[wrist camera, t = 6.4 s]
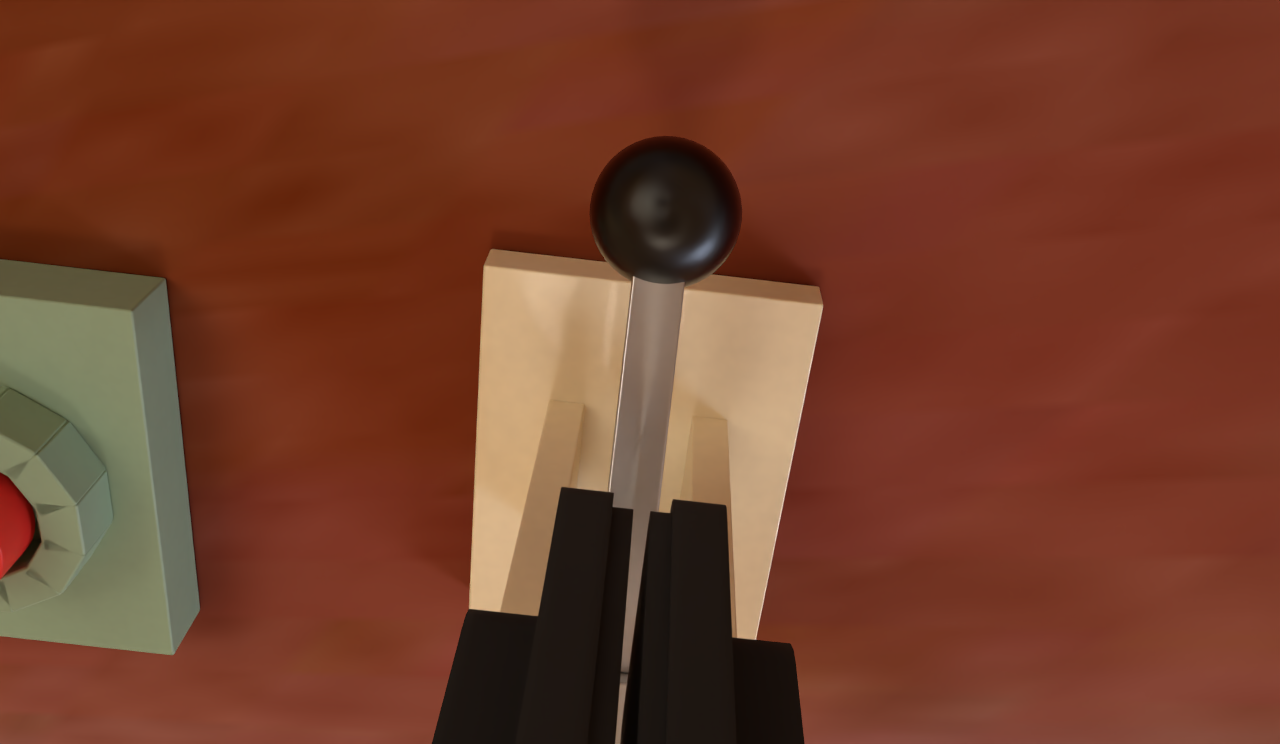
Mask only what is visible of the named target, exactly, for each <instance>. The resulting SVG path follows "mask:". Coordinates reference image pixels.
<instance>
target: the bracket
mask: <svg viewBox="0 0 1280 744" xmlns="http://www.w3.org/2000/svg"><path fill="white" fill-rule="evenodd" d="M631 282H632V281H630V280H628V279H626V278H625V277H623V276H622V275H620V274H619V273H618V272H617V271H616V270H614V269H613V268H612V267H611V266H610V264H609V263H608V262H601V261H592V260H583V259H575V258H566V257H557V256H549V255H540V254H532V253H523V252H514V251H506V250H497V249H491V250H490V252H489V255H488V257H487V259H486V262H485V264H484V267H483V291H482V314H481V338H480V361H479V385H478V408H477V432H476V455H475V479H474V502H473V526H472V549H471V573H470V596H469V609H476V610H485V611H495V612H504V613H513V614H522V615H531V616H538V613H539V608H540V602H541V596H542V591H543V585H544V580H545V574H546V568H547V563H548V557H549V551H550V546H551V540H552V535H553V529H554V523H555V518H556V512H557V507H558V501H559V495H560V490H561V487H568V488H577V489H586V490H595V491H604V492H607V491H608V482H609V474H610V465H611V456H612V447H613V439H614V430H615V421H616V413H617V404H618V395H619V386H620V378H621V369H622V360H623V351H624V343H625V334H626V325H627V317H628V308H629V299H630V290H631ZM822 310H823V302H822V297H821V293H820V289H819V287H817V286H808V285H800V284H791V283H782V282H774V281H765V280H756V279H748V278H739V277H731V276H722V275H713V274H711V275H710V276H708V277H707V278H705V279H704V280H702V281H700V282H698V283H696V284H693V285H690V286H687V287H684V295H683V304H682V313H681V321H680V330H679V339H678V347H677V356H676V365H675V374H674V382H673V391H672V400H671V408H670V417H669V426H668V434H667V443H666V452H665V460H664V469H663V478H662V487H661V495H660V504H659V512H664V513H670V510H671V504H672V500H673V499H677V500H686V501H695V502H704V503H713V504H722V505H726V507H727V522H728V546H729V570H730V594H731V618H732V637H734V638H743V639H752V640H756V637H757V632H758V627H759V622H760V617H761V612H762V607H763V602H764V597H765V592H766V587H767V582H768V577H769V573H770V568H771V563H772V558H773V553H774V548H775V543H776V538H777V533H778V528H779V523H780V518H781V513H782V508H783V503H784V498H785V493H786V488H787V483H788V478H789V473H790V468H791V464H792V459H793V454H794V449H795V444H796V439H797V434H798V429H799V424H800V419H801V414H802V409H803V404H804V399H805V394H806V389H807V384H808V379H809V374H810V369H811V364H812V359H813V355H814V350H815V345H816V340H817V335H818V330H819V325H820V320H821V315H822Z"/></svg>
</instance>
